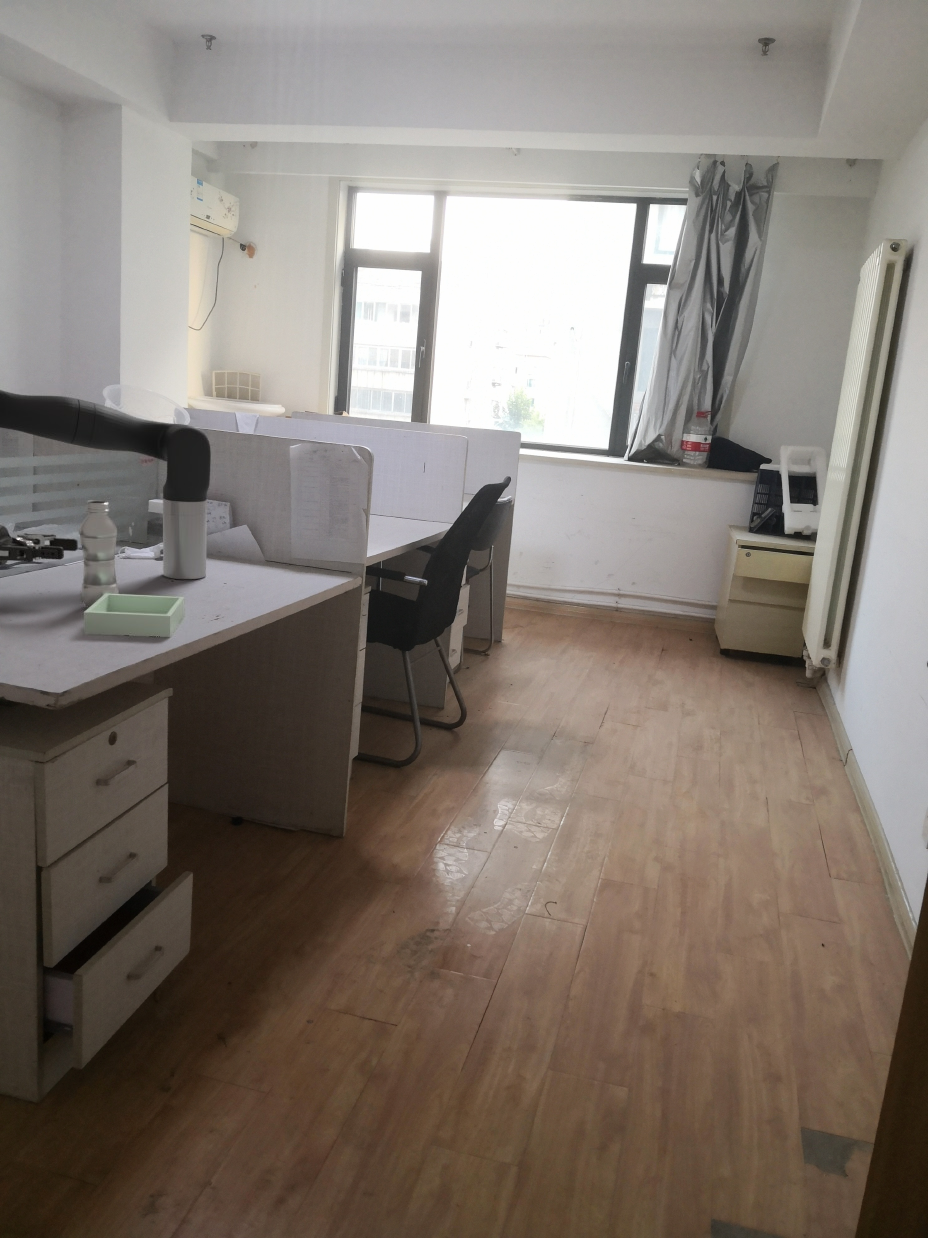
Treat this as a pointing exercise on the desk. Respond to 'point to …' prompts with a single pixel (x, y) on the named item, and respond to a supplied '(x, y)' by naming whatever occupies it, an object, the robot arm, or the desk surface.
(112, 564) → the plastic bottle
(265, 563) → the desk surface
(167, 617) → the green tray
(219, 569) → the desk surface
